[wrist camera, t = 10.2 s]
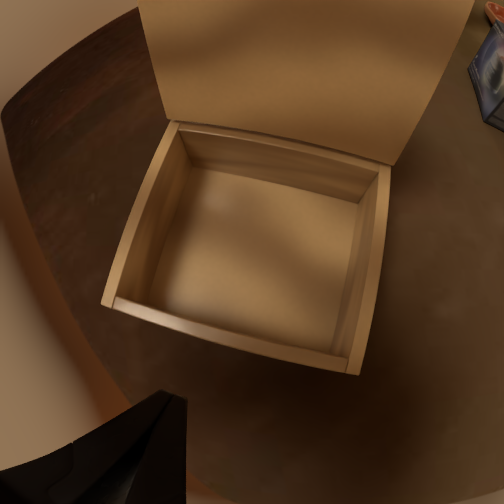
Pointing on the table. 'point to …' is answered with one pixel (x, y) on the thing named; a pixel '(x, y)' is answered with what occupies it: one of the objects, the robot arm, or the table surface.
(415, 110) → the chest lid
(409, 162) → the table surface
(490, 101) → the small box
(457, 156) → the table surface
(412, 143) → the table surface
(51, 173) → the table surface
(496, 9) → the saucer
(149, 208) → the chest
